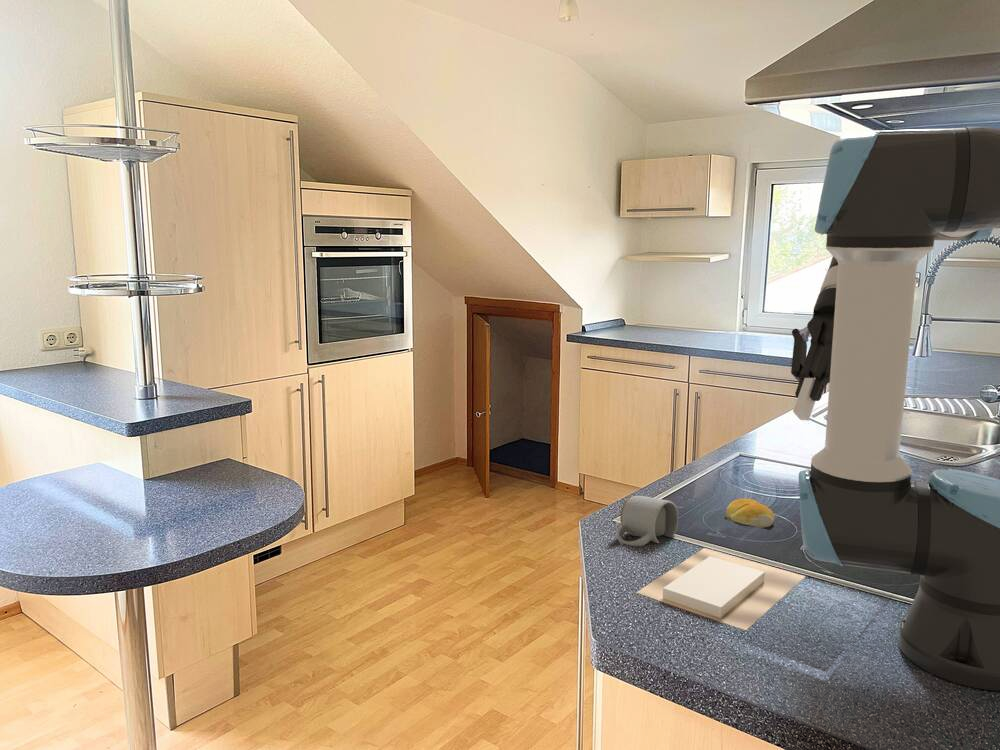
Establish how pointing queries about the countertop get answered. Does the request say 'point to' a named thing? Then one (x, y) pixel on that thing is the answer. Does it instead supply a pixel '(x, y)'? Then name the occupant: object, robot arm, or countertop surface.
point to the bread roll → (750, 513)
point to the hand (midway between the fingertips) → (800, 415)
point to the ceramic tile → (714, 586)
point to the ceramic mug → (647, 519)
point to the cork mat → (745, 610)
